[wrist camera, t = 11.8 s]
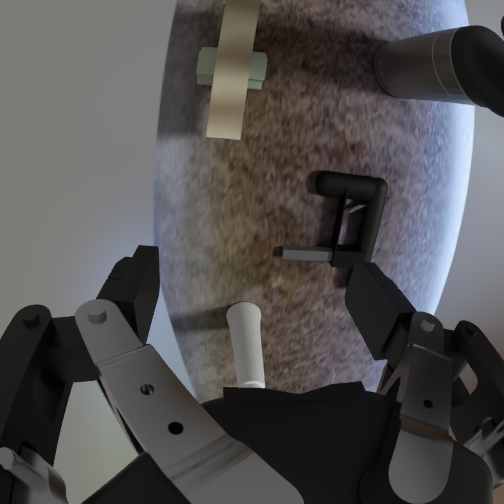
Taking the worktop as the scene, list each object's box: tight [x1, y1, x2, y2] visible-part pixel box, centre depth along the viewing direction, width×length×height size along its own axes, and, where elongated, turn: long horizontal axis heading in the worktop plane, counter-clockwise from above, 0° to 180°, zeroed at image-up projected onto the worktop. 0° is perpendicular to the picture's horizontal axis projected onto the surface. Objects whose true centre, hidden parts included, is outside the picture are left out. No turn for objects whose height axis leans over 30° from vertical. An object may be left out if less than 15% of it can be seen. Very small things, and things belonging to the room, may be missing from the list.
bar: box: [206, 0, 261, 140], centre depth 26 cm, size 18×4×4 cm, turn 173°
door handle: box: [281, 171, 390, 290], centre depth 44 cm, size 3×20×16 cm
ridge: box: [196, 47, 268, 91], centre depth 30 cm, size 5×8×4 cm, turn 82°
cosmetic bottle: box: [226, 302, 265, 388], centre depth 41 cm, size 6×6×22 cm
